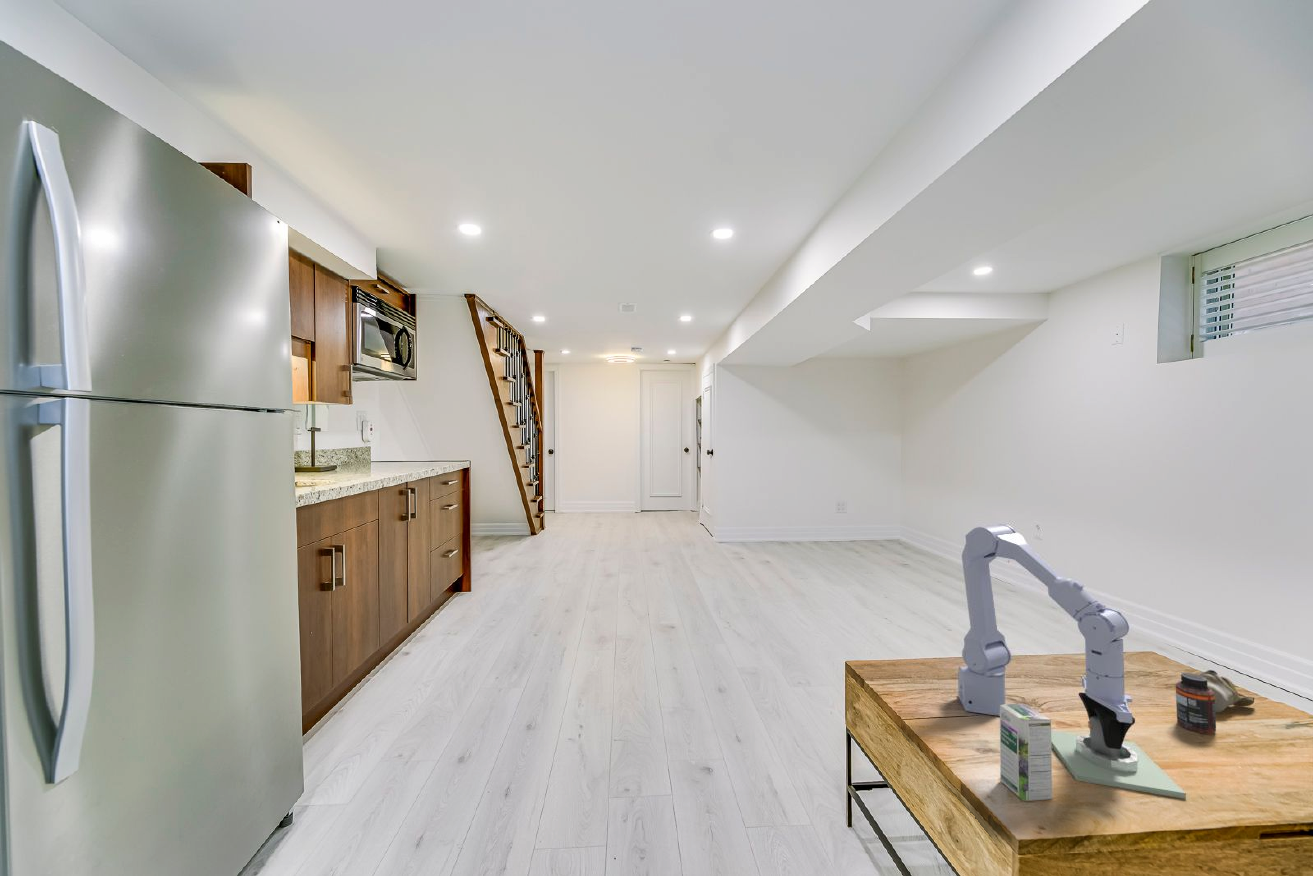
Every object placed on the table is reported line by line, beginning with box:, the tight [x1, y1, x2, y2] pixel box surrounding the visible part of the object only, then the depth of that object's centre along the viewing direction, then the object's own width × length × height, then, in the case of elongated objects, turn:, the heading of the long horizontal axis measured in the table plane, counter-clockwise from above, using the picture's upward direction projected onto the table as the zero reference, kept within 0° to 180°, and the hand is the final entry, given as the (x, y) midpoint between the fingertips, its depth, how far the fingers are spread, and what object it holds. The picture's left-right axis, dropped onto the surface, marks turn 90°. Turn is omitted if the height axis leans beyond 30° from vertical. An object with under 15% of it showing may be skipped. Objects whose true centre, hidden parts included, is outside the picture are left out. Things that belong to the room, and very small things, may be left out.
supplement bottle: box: [1175, 672, 1217, 735], centre depth 111 cm, size 6×6×11 cm
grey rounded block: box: [1087, 716, 1121, 759], centre depth 99 cm, size 4×5×6 cm
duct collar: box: [1076, 733, 1139, 773], centre depth 99 cm, size 9×9×2 cm
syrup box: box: [999, 703, 1053, 802], centre depth 92 cm, size 6×6×14 cm
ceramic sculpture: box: [1198, 669, 1255, 713], centre depth 120 cm, size 11×9×15 cm
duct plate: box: [1051, 729, 1187, 800], centre depth 99 cm, size 16×16×1 cm
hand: (1106, 740), depth 99 cm, fingers closed on grey rounded block, 4 cm apart
